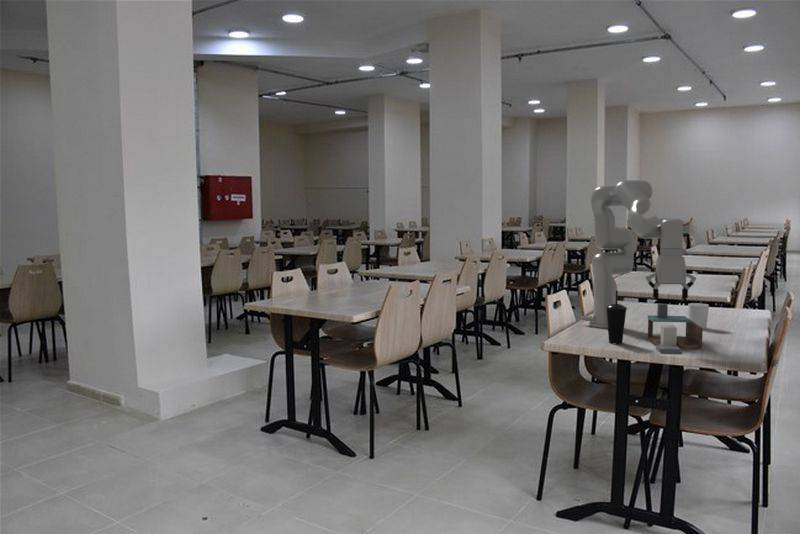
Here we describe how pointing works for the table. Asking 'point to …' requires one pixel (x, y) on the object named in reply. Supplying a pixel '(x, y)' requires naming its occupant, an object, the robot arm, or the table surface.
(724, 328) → the table surface
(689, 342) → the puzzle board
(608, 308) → the drinking cup
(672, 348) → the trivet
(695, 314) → the white cup
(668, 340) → the block
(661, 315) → the cover
